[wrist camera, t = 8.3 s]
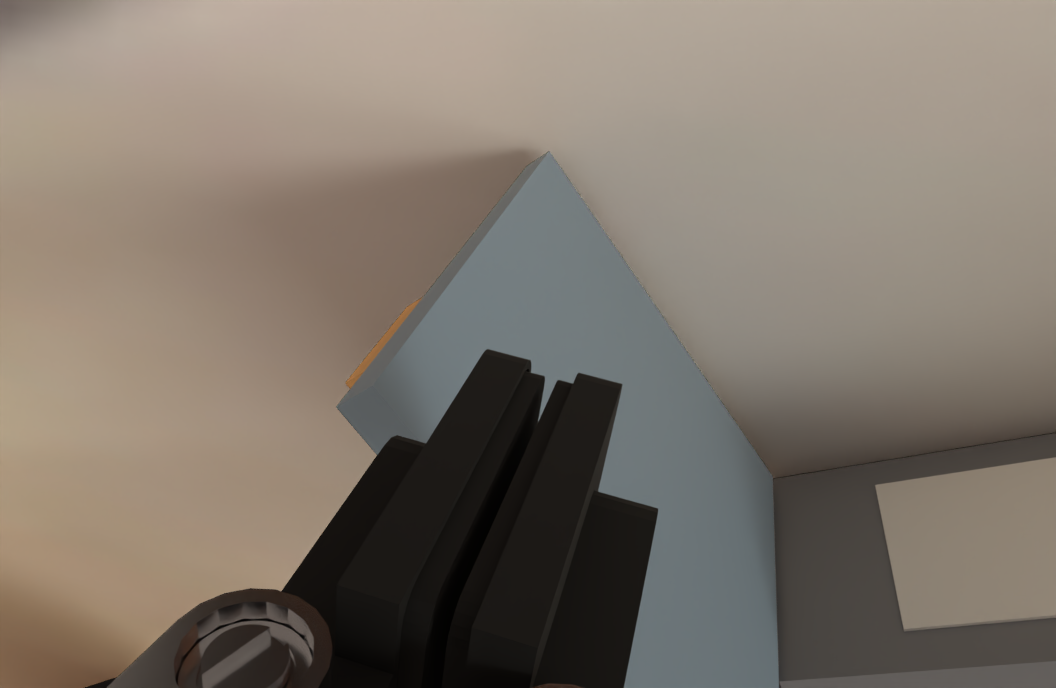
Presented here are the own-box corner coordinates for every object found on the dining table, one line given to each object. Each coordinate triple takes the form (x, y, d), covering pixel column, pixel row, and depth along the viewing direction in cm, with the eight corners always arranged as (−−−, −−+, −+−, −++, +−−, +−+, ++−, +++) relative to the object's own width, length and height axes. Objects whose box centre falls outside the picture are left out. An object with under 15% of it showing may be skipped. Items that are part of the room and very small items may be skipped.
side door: (504, 181, 24) (301, 427, 13) (549, 151, 23) (373, 385, 12) (727, 493, 27) (709, 891, 16) (772, 476, 26) (784, 880, 16)
